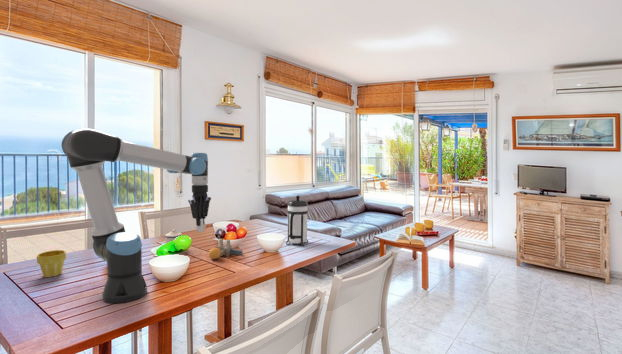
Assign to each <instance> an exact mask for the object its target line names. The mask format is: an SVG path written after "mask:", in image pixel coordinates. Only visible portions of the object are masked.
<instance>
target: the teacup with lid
mask: <svg viewBox="0 0 622 354" xmlns="http://www.w3.org/2000/svg"><path fill="white" fill-rule="evenodd" d="M181 235H182V236H183V233H182V232H179V231H176V229H172V230H171V231H169V232H168V233H166V234H165V235H164V238H165V244H166V243H168V242H170V241H173V240H174V239H175V238H176V237H178V236H181Z"/></svg>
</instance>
